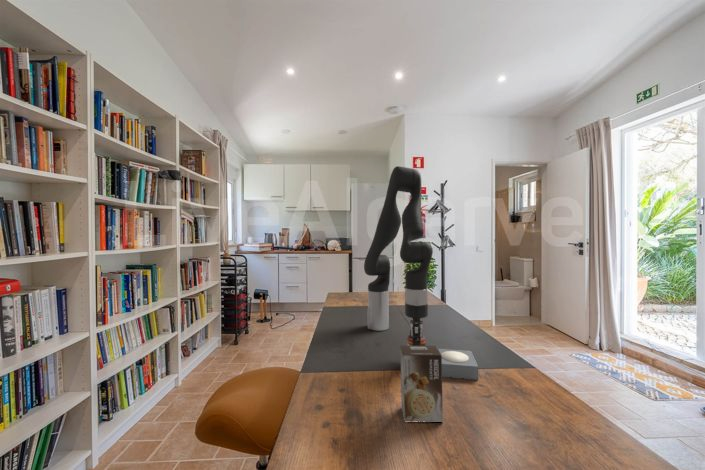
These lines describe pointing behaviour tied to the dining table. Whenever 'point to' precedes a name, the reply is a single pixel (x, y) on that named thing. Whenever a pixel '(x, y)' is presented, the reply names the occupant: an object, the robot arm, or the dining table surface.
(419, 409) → the coffee box
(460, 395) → the dining table surface
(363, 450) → the dining table surface
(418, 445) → the dining table surface
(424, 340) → the supplement bottle
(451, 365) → the base block
